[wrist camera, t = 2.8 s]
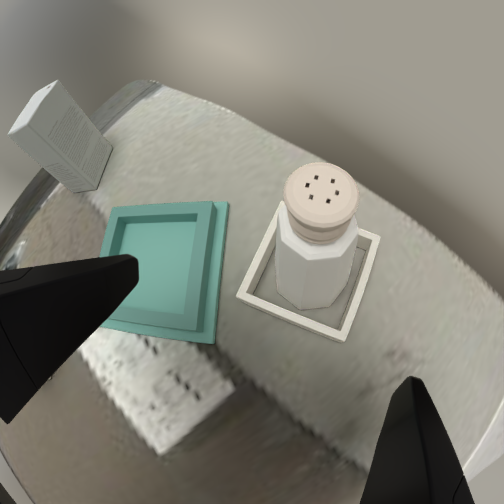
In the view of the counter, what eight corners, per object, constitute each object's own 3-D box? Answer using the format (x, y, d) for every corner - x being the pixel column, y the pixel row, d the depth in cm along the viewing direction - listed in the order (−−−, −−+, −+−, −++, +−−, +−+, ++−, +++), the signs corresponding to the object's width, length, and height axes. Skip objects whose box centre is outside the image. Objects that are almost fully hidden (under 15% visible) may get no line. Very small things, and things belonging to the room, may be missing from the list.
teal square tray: (214, 344, 19) (205, 342, 17) (96, 325, 21) (81, 322, 19) (229, 205, 23) (223, 192, 21) (119, 210, 25) (108, 200, 23)
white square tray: (339, 342, 18) (344, 341, 16) (241, 301, 20) (235, 296, 18) (373, 246, 20) (380, 236, 18) (282, 213, 22) (281, 200, 20)
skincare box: (89, 153, 29) (35, 91, 18) (114, 148, 28) (59, 77, 17) (72, 195, 27) (5, 135, 16) (96, 191, 26) (27, 122, 15)
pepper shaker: (263, 299, 20) (224, 238, 9) (285, 231, 21) (271, 125, 11) (337, 320, 18) (383, 281, 8) (354, 249, 20) (398, 152, 10)
